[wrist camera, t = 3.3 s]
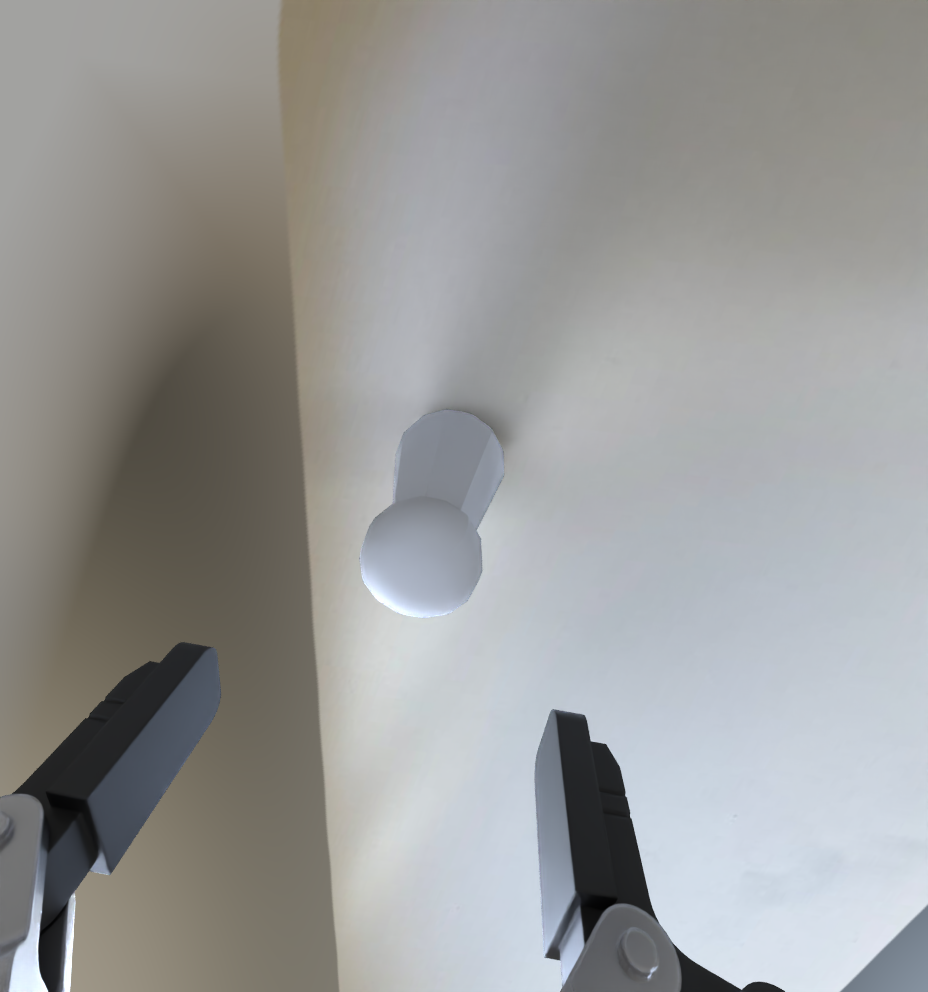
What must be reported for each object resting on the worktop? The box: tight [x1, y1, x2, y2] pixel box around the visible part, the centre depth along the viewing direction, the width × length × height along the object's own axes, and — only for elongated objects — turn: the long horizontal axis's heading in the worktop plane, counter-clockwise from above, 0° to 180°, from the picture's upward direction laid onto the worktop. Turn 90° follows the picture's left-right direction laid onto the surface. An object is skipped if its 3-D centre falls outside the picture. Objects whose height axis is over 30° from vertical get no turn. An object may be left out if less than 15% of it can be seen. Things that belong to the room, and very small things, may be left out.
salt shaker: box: [359, 409, 504, 618], centre depth 22 cm, size 6×6×13 cm
